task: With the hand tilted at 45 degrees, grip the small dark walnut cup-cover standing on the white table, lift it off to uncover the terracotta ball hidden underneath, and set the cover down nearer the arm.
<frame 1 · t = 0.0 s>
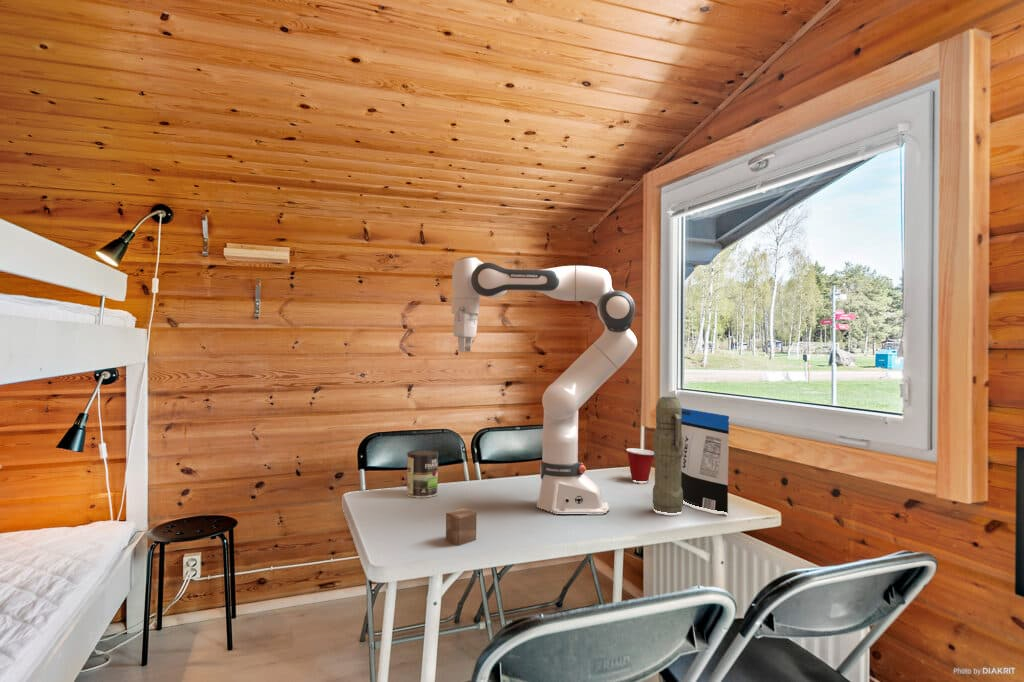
hand: (464, 351, 188), 48 cm above the table, tool pointing down, fingers open, 8 cm apart
protein powder: (701, 506, 188), on the table
coffee can: (422, 495, 197), on the table
cover: (461, 540, 151), on the table
plastic cup: (640, 482, 219), on the table
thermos: (667, 512, 180), on the table
ball: (461, 534, 151), in the cover
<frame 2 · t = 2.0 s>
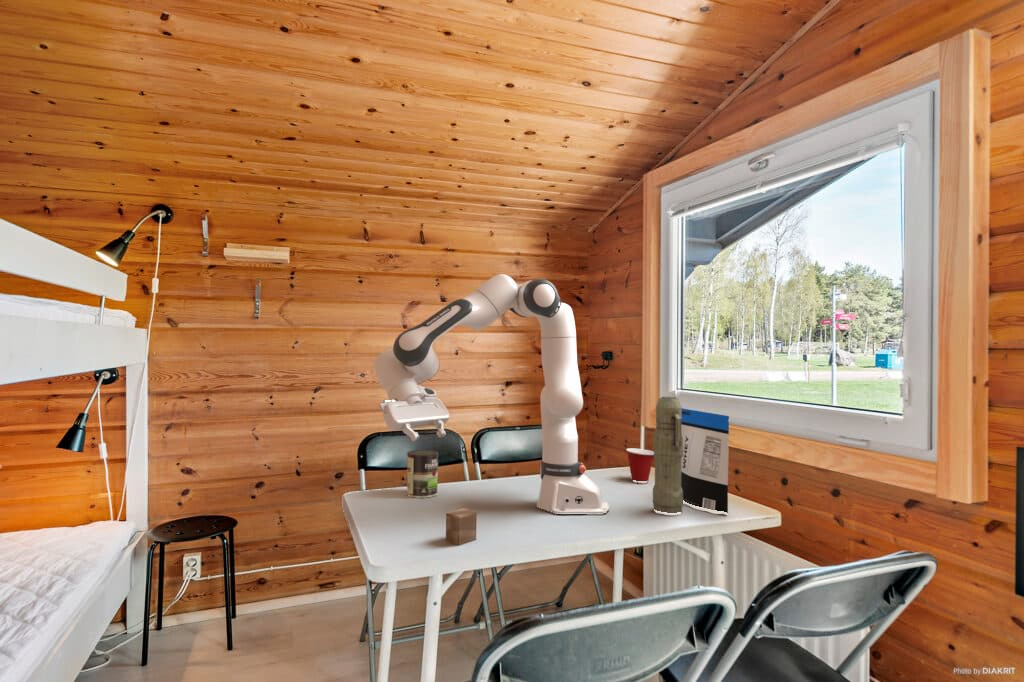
hand: (429, 437, 159), 25 cm above the table, tool tilted 45°, fingers open, 8 cm apart
nothing on the table moved.
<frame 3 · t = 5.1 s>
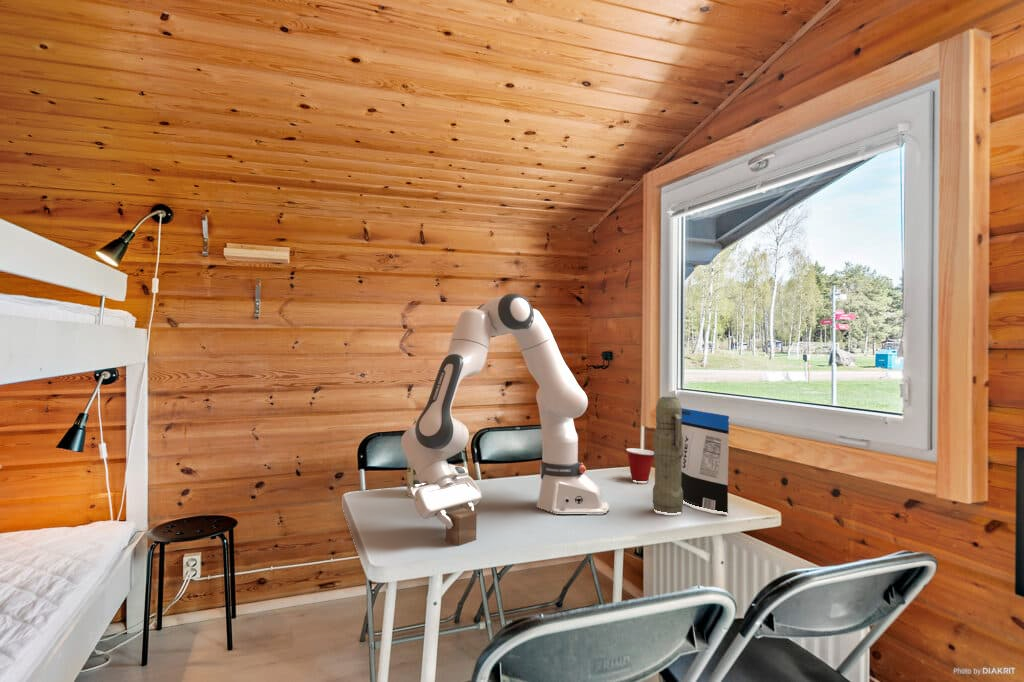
hand: (463, 523, 150), 4 cm above the table, tool tilted 45°, fingers closed on cover, 6 cm apart
cover: (461, 540, 151), on the table, touching gripper
everything else where it was.
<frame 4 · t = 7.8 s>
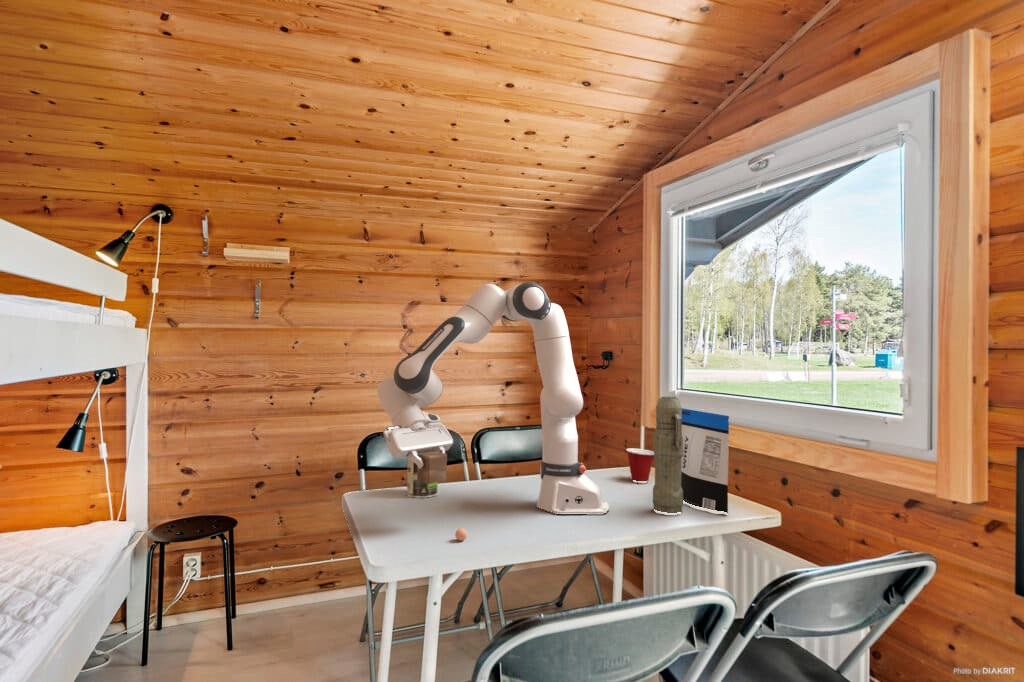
hand: (433, 464, 159), 18 cm above the table, tool tilted 45°, fingers closed on cover, 6 cm apart
cover: (431, 480, 160), point 13 cm above the table, touching gripper
everything else where it was.
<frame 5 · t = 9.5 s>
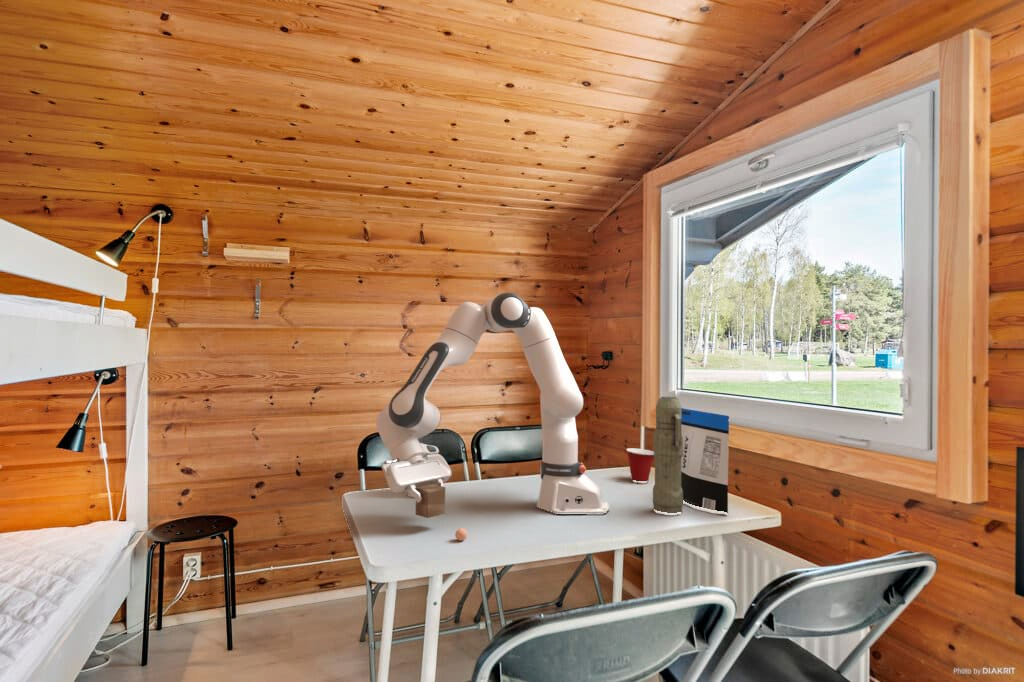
hand: (432, 498, 160), 8 cm above the table, tool tilted 45°, fingers closed on cover, 6 cm apart
cover: (430, 514, 160), point 4 cm above the table, touching gripper
everything else where it was.
when the fingers open (6 cm above the table, at t = 10.6 s): cover drops 1 cm, on the table.
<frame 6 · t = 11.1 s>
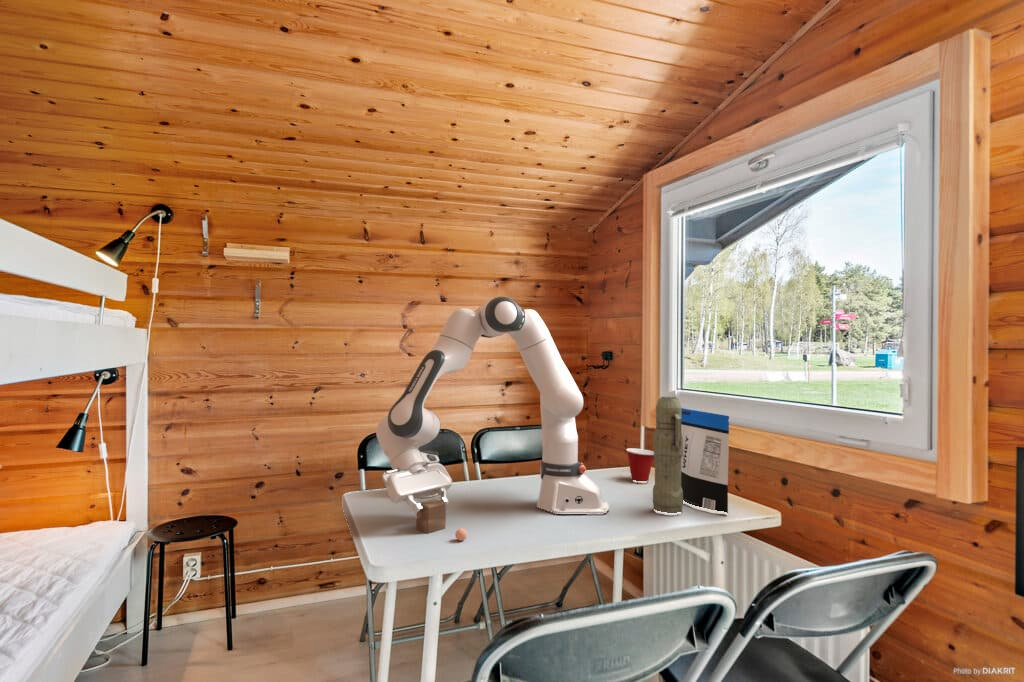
hand: (432, 507, 159), 6 cm above the table, tool tilted 45°, fingers open, 8 cm apart
cover: (430, 528, 160), on the table
everything else where it was.
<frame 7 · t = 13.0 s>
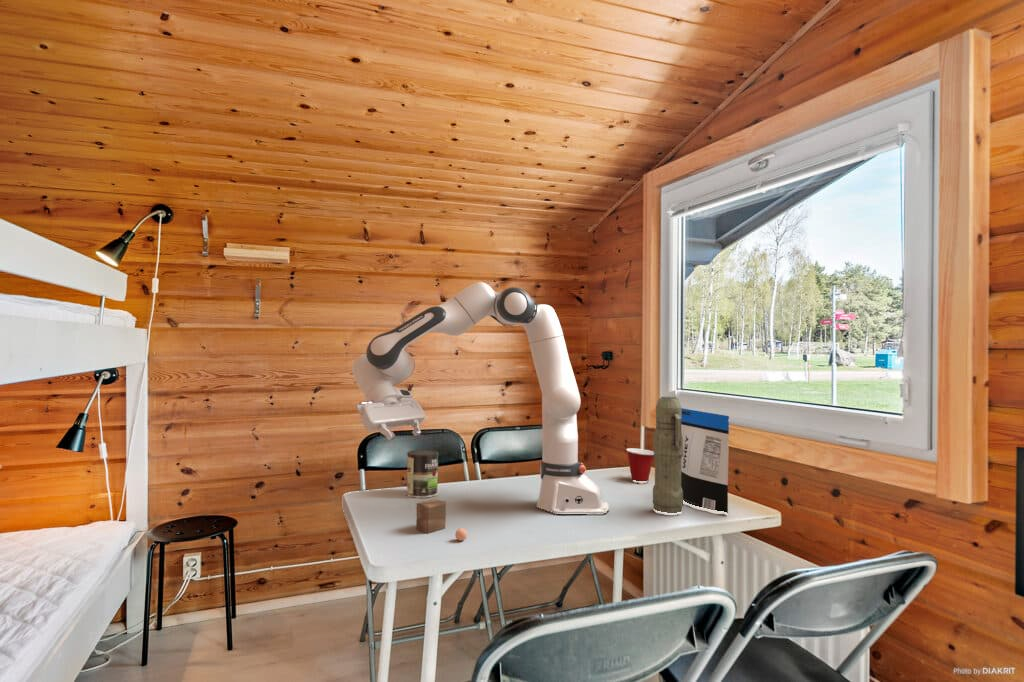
hand: (405, 436, 167), 24 cm above the table, tool tilted 45°, fingers open, 8 cm apart
nothing on the table moved.
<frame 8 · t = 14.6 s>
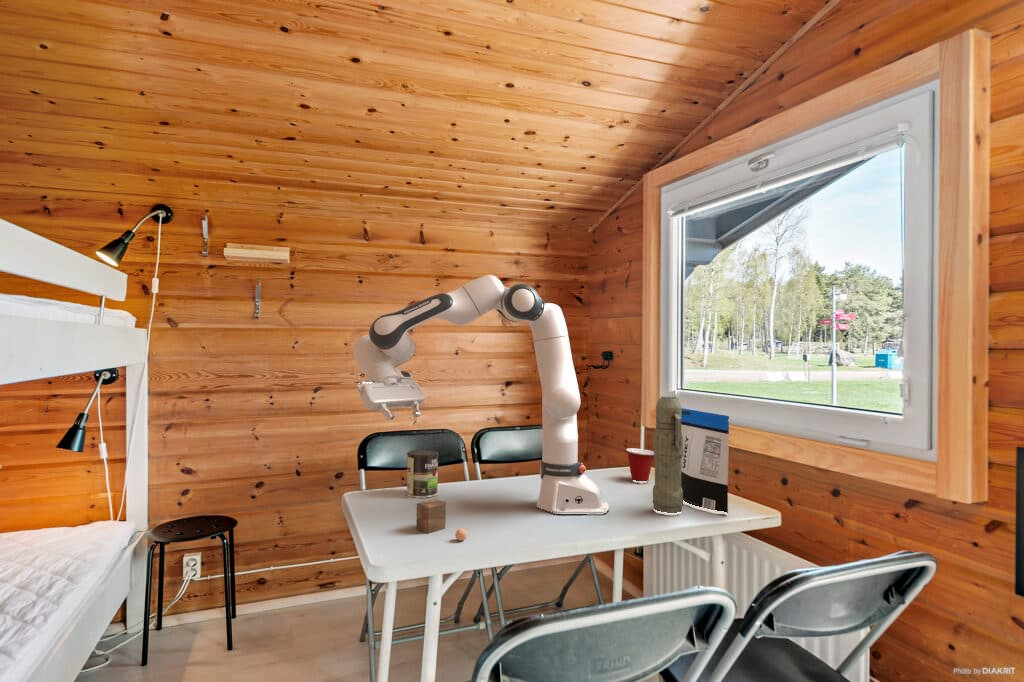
hand: (405, 417, 167), 29 cm above the table, tool tilted 45°, fingers open, 8 cm apart
nothing on the table moved.
at the end: cover inside the target area (0.1 cm from its centre), on the table; cover moved 12.8 cm from its start; the gripper is holding nothing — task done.
